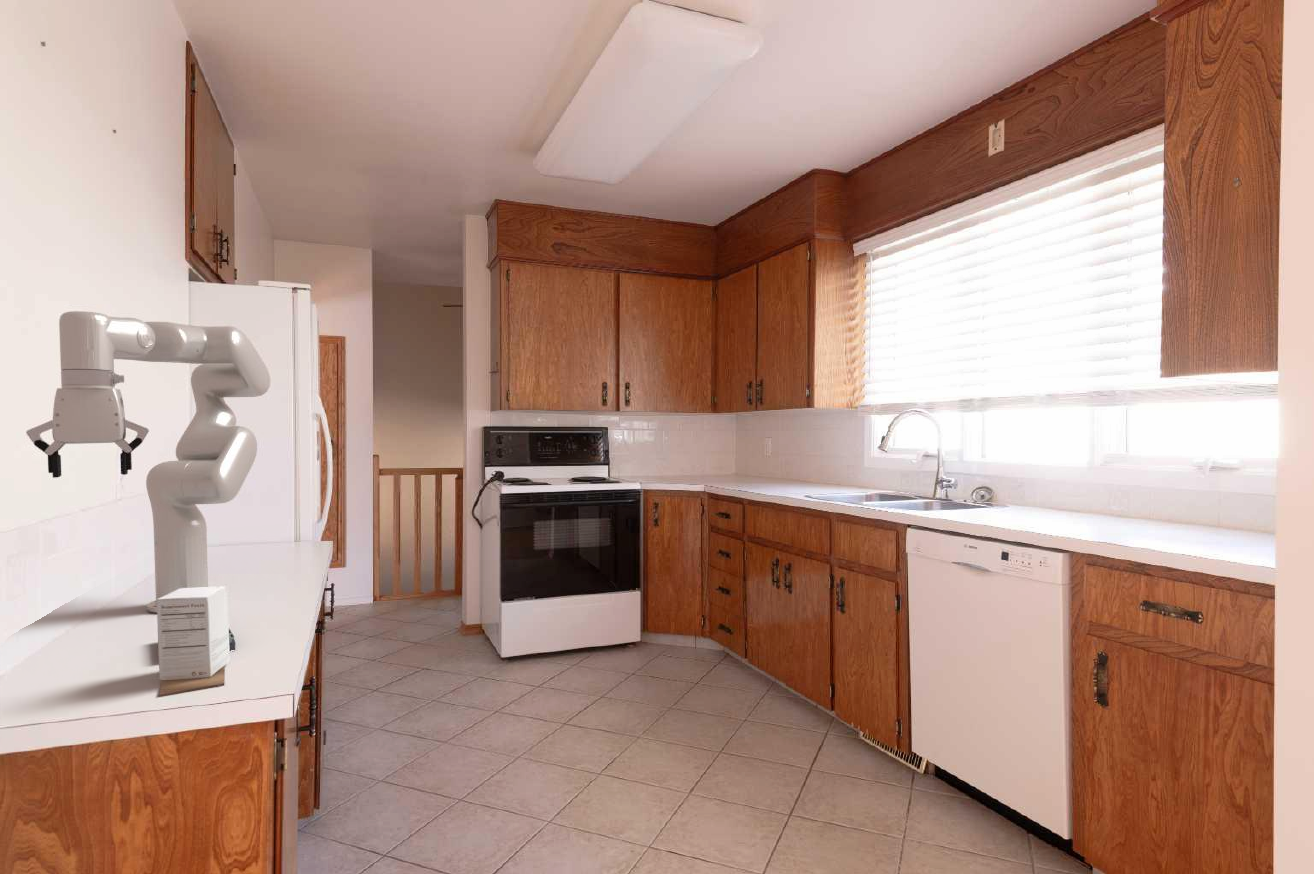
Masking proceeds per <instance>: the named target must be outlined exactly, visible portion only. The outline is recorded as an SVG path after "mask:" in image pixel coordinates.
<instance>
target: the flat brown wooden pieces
mask: <svg viewBox="0 0 1314 874" xmlns="http://www.w3.org/2000/svg"><path fill="white" fill-rule="evenodd" d="M225 668H226V665H225V666H223V667H222V668H221V669H220V670H218V671H217V672H216V673H215V674H213V675H212V676H211V677H206V678H193V679H178V680H162V682H161V685H160V689H159V694H158V697H165V696H170V695H175V694H182V693H188V692H193V691H200V690H205V689H211V688H215V687H222V686H223V687H224V686H225V676H226V675H225Z"/></svg>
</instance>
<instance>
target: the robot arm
mask: <svg viewBox="0 0 1314 874" xmlns="http://www.w3.org/2000/svg"><path fill="white" fill-rule="evenodd" d="M58 321H59V325H58V326H59V351H60V352H59V355H60V357H59V359H60V378H61V379H60V380H61V385H60V386H61V387H60V388H56V391H55V396H54V401H53V409H52V410H53V411H52V420H49V421H47V422H44V423H42V424H39V425H37V426H35V427H31V428H30V429H28V430H26V435H27V437H28V438H29V439H30V441H31V442H32V443H33V445H34V447H36V448H38V450H40V451H42V452H43V453H44V454H46V455H47V470H48V474H52V478H54V479H55V478H60V477H62V457H61V455H60V454H59V451H60V450H61V449H62V448H63V447H64V446H65V445H67V444H68V445H72V444H73V445H74V444H76V445H77V444H81V445H82V444H107V443H108V444H110V443H111V444H112V443H114V444H116V445H117V447H119V448H120V449H121V453H120V459H119V460H120V474H121V475H123V476H124V475H128V472H129V471H131V470H133V469H132V452H133V451H134V450H135V449H137V448H138V447H140V446H141V444H142V443H143V442H144V440H145V439H146V438H147V436H148V434H149V432H150V430H149V428H147V427H144V426H143V425H140V424H136V423H135V422H133V421H130V420H127V419H126V416H125V415H126V413H125V405H124V400H123V395H122V392H121V389H119V388H116V385H117V384H120V383H121V384H122V383H125V376H124V375H122V374H121V375H119V374H117V373H115V364H114V363H115V361H114V360H123V361H124V360H126V361H127V360H128V361H129V360H130V361H138V362H149V363H174V364H175V363H178V364H179V363H180V364H195V365H198V366H196V367H195V368H194V369H193V371H192V372H191V377H190V385H191V390H192V394H193V397H194V403H195V414H194V416H193V417H192V419H191V421H190V422H189V424H188V426H187V428H185V430H184V432H183V433H182V435H181V437H180V438H179V440H178V441H177V444H176V448H175V457H176V459H177V460H169V461H163V462H160V463H158V464H156V465H154V466H153V467H152V468H151V469H150V470H149V471H148V473H147V475H146V480H145V481H146V482H145V483H146V485H145V486H146V491H147V496H148V499H149V503H150V507H151V512H152V521H153V522H152V523H153V546H154V547H153V548H154V549H153V550H154V551H153V552H154V581H155V584H154V586H155V600H154V601H151V602H149V603H148V604H147V605H146V610H147V611H148V612H150V613H156V614H157V599H159V598H161V597H163V596H165V595H167V594H169V593H171V592H173V591H176V590H177V589H180V588H195V587H209V572H208V571H209V569H208V568H209V567H208V541H207V540H208V537H207V536H208V535H207V534H208V533H207V532H208V531H207V522H206V518H205V517H204V515H203V514H202V512H201V510H200V509H199V508H198V506H197V505H217V504H226V503H230V501H232V500H234V499H235V497H236V496H237V495H238V494H239V491H240V490H241V488H242V486H243V484H244V482H245V480H246V478H247V476H248V474H249V473H250V470H251V469H252V467H253V465H254V462H255V460H256V457H257V452H258V443H257V438H256V436H255V433H254V432H253V431H252V430H250V429H249V428H247V427H246V426H241V425H237V417H236V415H235V413H234V411H233V410H232V409H231V407H230V406H229V405H228V404H227V403H226V401H225V399H224V398H255V397H260V396H263V395H265V394H266V393H267V392H268V390H269V389H270V388H271V387H270V386H271V377H270V372H269V369H268V368H267V366H266V364H265V362H264V361H263V359H262V357H261V356H260V354H259V352H258V351H257V350H256V347H255V345H253V343H252V342H251V340H250V338H248V336H247V335H246V333H244V332H243V331H242V330H240V329H239V328H238V327H236V326H231V325H230V326H220V325H219V326H201V325H200V326H198V325H190V324H183V323H175V322H168V321H144V320H141V319H139V318H134V317H118V316H117V317H115V316H109V315H107V314H105V313H100V312H93V311H84V310H83V311H80V310H79V311H78V310H77V311H75V310H74V311H73V310H72V311H66V312H64V313H63V312H62V314H61V315H60V317H59V320H58ZM127 429H130V430H132V431H134V432H136V433H137V435H136V436H135V438H134V439H132V440H131V442H130V443H129V442H128V441H127V440H125V439H126V436H127ZM50 430H52V439H53V440H54V441H53V442H52V443H51V444H49V443H47V442H46V441H45V440H43V438H42V437H41V434H42V433H45V432H47V431H50Z"/></svg>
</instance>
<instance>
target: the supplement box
mask: <svg viewBox="0 0 1314 874" xmlns="http://www.w3.org/2000/svg"><path fill="white" fill-rule="evenodd" d="M228 596H229V595H228V586H227V585H226V586H224V585H223V586H222V585H216V586H215V585H214V586H208V587H195V588H180V589H177V590H176V591H173V592H171V593H169V594H167V595H165V596H163V597H161V598H159V599H157V613H156V617H157V620H156V621H157V645H158V648H157V652H158V670H159V671H158V672H159V681H163V680H178V679H193V678H206V677H211V676H212V675H213V674H215V673H216V672H217V671H218V670H220V669H221V668H222V667H223V666H225V667H226V665H227V664H228V663H230V662H231V657H230V656H231V654H230V653H231V652H230V649H229V629H230V627H229V626H230V625H229V605H228V604H229V602H228V601H229V599H228Z"/></svg>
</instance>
